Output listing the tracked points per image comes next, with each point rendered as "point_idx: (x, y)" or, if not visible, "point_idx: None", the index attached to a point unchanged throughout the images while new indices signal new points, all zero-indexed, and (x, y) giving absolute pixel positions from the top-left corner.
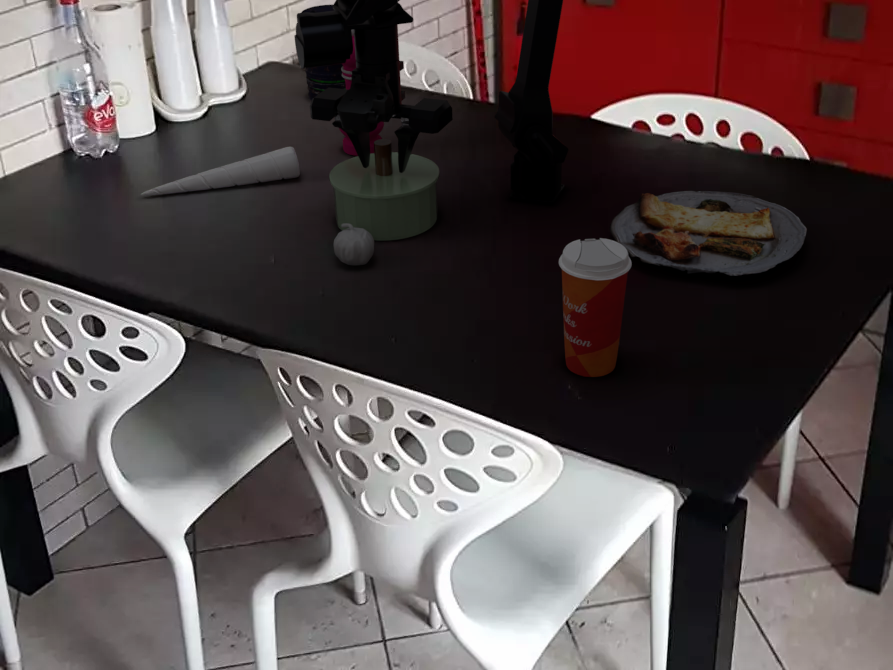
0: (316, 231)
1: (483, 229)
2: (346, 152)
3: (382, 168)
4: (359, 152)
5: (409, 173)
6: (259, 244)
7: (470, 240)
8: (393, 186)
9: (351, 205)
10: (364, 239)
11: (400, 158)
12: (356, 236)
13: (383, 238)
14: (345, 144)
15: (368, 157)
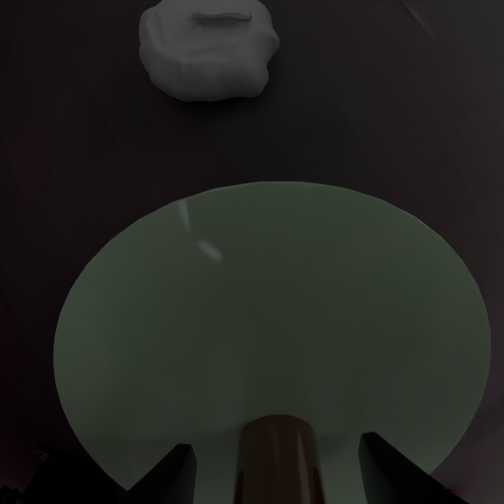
0: (419, 190)
1: (47, 353)
2: (450, 490)
3: (264, 442)
4: (408, 477)
5: None
6: (486, 83)
7: (36, 297)
8: (151, 339)
9: None
10: (146, 19)
11: (150, 489)
12: (170, 4)
13: None
14: None
15: (366, 479)
